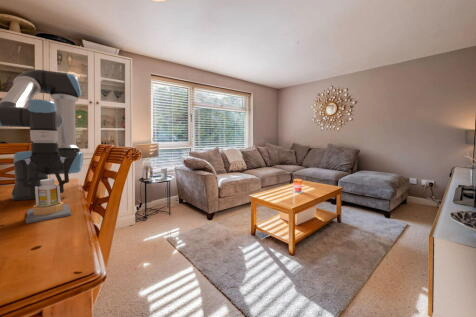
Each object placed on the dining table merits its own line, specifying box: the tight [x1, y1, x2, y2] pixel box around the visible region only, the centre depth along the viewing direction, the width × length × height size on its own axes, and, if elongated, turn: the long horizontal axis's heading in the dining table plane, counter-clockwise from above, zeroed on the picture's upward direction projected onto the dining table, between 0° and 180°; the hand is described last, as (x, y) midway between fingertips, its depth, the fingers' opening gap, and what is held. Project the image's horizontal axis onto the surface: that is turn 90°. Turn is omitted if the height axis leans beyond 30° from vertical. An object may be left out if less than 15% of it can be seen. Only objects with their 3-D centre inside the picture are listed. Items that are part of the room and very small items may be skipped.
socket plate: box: [25, 201, 72, 224], centre depth 81 cm, size 16×12×4 cm
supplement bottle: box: [38, 178, 58, 207], centre depth 80 cm, size 5×5×10 cm
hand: (48, 202), depth 81 cm, fingers closed on supplement bottle, 5 cm apart
